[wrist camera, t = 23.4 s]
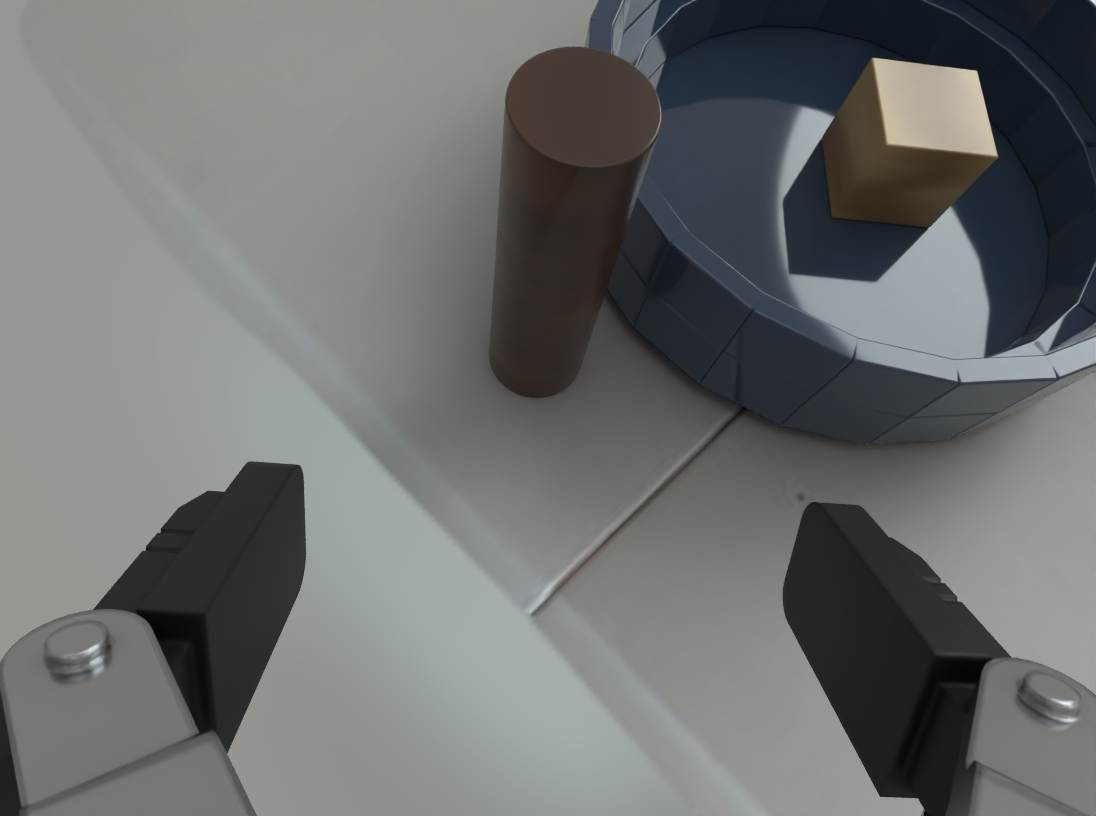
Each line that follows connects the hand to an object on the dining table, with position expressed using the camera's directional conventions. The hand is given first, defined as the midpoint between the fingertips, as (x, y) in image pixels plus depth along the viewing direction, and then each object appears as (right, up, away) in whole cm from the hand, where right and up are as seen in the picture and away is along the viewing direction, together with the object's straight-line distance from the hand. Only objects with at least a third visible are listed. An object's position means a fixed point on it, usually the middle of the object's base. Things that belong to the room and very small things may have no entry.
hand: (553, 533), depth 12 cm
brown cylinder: (0, +4, +10) cm, 11 cm away
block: (+11, +10, +14) cm, 20 cm away
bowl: (+10, +9, +14) cm, 19 cm away
